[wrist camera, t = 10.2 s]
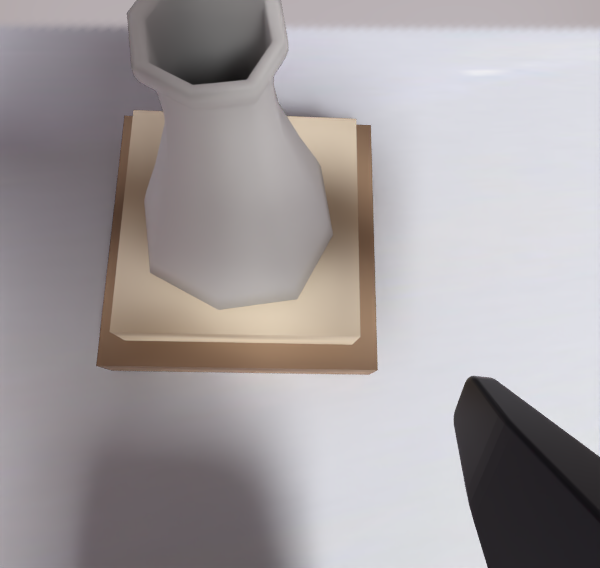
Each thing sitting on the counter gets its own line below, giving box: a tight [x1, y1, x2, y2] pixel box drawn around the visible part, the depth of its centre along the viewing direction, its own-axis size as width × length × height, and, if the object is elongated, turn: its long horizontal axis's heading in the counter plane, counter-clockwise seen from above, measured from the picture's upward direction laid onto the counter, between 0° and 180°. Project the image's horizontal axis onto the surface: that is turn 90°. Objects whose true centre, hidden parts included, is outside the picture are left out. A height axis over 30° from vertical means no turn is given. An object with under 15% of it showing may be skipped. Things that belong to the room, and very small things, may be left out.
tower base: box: [96, 110, 378, 375], centre depth 22 cm, size 11×11×4 cm
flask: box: [127, 0, 333, 310], centre depth 15 cm, size 7×7×10 cm
